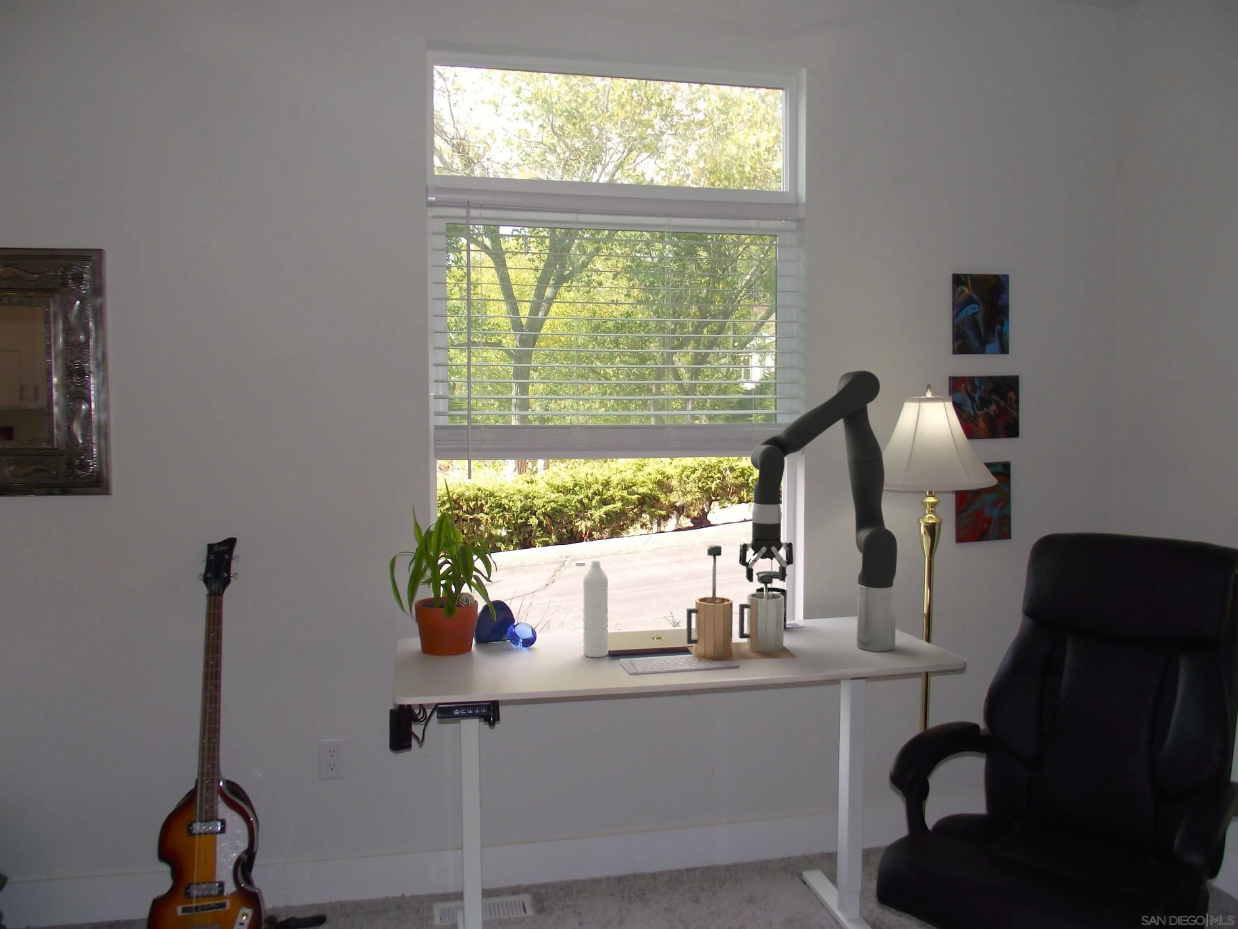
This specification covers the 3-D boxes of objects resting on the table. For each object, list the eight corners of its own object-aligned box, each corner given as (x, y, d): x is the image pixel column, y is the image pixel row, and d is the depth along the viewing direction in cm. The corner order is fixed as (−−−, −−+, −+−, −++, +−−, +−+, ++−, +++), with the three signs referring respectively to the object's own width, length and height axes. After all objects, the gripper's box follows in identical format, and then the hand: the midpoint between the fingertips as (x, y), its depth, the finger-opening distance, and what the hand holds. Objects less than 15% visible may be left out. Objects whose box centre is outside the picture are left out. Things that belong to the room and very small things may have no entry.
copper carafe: (725, 647, 232) (726, 596, 231) (736, 657, 223) (736, 603, 222) (682, 649, 230) (683, 597, 229) (691, 659, 221) (691, 605, 220)
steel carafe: (776, 642, 237) (776, 591, 237) (787, 651, 228) (788, 599, 227) (734, 644, 236) (734, 593, 235) (744, 653, 226) (745, 600, 226)
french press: (793, 634, 250) (794, 555, 249) (761, 636, 249) (762, 556, 247) (778, 624, 262) (779, 549, 260) (748, 626, 260) (749, 549, 259)
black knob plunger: (722, 604, 230) (723, 544, 229) (729, 610, 223) (730, 548, 222) (698, 605, 229) (698, 544, 228) (704, 611, 222) (705, 548, 221)
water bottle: (602, 649, 235) (602, 558, 233) (611, 656, 229) (611, 561, 227) (571, 653, 231) (571, 560, 230) (580, 659, 225) (580, 564, 224)
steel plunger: (773, 631, 236) (773, 571, 235) (781, 637, 229) (782, 576, 228) (749, 632, 235) (750, 572, 234) (757, 638, 228) (757, 577, 227)
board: (776, 644, 240) (776, 640, 239) (797, 661, 224) (797, 657, 224) (684, 649, 235) (684, 644, 235) (699, 666, 220) (699, 661, 220)
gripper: (787, 518, 235) (786, 577, 236) (736, 519, 233) (735, 579, 234) (797, 521, 227) (796, 583, 228) (744, 522, 225) (744, 584, 226)
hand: (765, 581), depth 231 cm, fingers open, 8 cm apart
